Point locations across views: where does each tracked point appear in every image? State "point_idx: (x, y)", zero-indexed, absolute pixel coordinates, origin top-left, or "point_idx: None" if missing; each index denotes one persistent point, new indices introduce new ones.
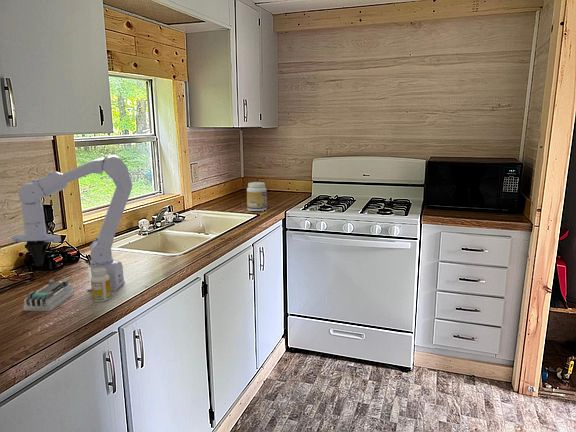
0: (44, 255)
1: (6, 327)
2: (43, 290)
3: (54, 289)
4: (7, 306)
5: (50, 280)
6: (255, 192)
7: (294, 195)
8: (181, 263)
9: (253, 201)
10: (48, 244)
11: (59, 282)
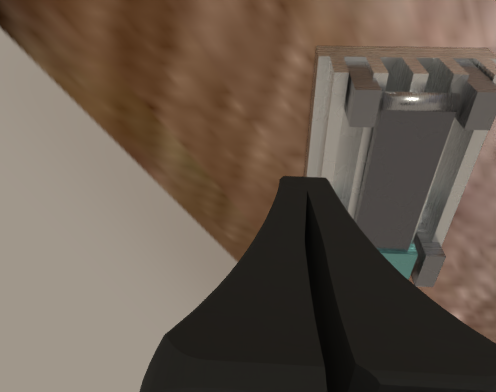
0: (355, 230)
1: None
2: (369, 224)
3: (423, 194)
4: (194, 206)
5: (357, 107)
6: None
7: None
8: None
9: None
10: (483, 347)
11: (431, 112)
